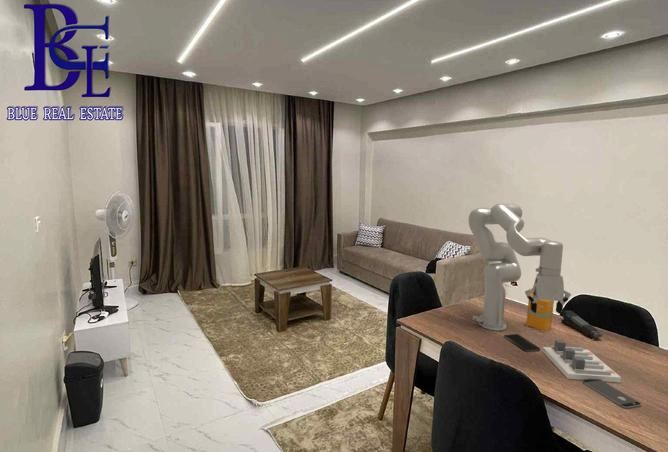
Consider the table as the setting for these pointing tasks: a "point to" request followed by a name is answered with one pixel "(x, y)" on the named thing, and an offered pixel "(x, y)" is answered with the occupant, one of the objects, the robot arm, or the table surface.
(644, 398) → the table surface
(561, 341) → the far tab
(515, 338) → the phone
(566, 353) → the middle tab
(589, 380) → the phone
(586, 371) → the switch board
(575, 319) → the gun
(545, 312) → the orange juice
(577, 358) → the near tab
